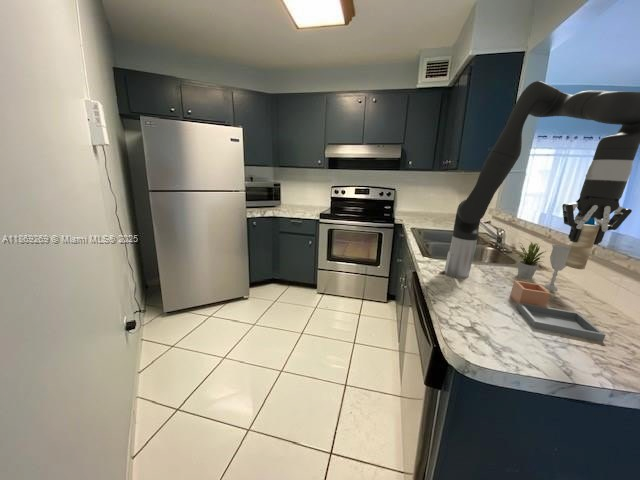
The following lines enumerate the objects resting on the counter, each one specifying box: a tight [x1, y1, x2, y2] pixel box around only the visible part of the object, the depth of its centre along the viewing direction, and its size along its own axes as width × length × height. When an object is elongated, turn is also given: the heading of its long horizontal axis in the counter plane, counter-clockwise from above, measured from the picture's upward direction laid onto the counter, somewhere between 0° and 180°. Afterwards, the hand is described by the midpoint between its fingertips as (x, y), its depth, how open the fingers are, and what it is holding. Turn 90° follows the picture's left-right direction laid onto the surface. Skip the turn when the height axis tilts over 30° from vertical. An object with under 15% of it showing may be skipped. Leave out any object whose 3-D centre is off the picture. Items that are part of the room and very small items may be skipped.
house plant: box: [513, 241, 547, 279], centre depth 115 cm, size 14×14×16 cm
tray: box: [516, 302, 606, 342], centre depth 77 cm, size 16×12×3 cm
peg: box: [565, 223, 600, 270], centre depth 71 cm, size 4×4×12 cm
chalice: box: [543, 244, 571, 292], centre depth 100 cm, size 7×7×18 cm
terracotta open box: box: [509, 279, 551, 307], centre depth 88 cm, size 8×8×7 cm
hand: (583, 242), depth 70 cm, fingers closed on peg, 4 cm apart
